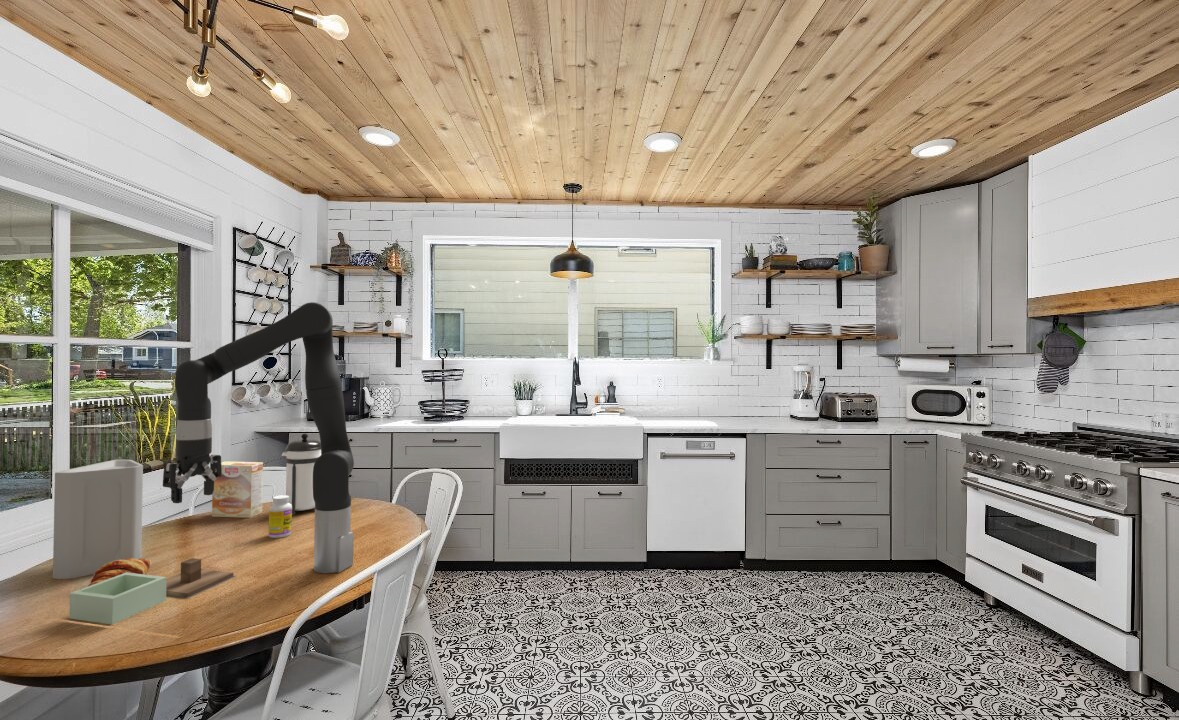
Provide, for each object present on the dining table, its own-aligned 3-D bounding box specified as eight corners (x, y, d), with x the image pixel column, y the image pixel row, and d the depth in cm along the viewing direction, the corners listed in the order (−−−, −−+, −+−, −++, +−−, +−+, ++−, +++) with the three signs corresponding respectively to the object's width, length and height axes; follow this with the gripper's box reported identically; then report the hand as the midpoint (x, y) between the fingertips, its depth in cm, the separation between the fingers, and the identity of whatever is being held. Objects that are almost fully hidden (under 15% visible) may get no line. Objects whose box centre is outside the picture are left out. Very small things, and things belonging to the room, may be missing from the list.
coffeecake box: (210, 517, 196) (211, 464, 196) (224, 511, 203) (225, 460, 203) (250, 518, 196) (251, 465, 196) (262, 512, 203) (263, 461, 203)
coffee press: (310, 517, 197) (311, 436, 197) (271, 514, 200) (273, 435, 200) (339, 505, 214) (340, 431, 215) (303, 502, 217) (304, 429, 217)
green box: (166, 602, 128) (166, 577, 128) (112, 626, 116) (112, 598, 116) (126, 596, 130) (126, 572, 130) (69, 619, 119) (69, 593, 119)
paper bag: (107, 578, 141) (109, 473, 141) (50, 578, 140) (52, 472, 140) (164, 552, 160) (165, 460, 160) (113, 552, 159) (115, 459, 160)
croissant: (136, 581, 148) (122, 556, 147) (172, 562, 149) (158, 538, 149) (76, 615, 127) (59, 586, 127) (118, 593, 128) (102, 565, 128)
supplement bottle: (284, 538, 174) (284, 499, 174) (264, 538, 174) (264, 499, 174) (295, 532, 180) (296, 494, 180) (276, 531, 181) (277, 494, 181)
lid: (233, 576, 142) (233, 554, 142) (187, 597, 130) (188, 572, 130) (193, 571, 145) (193, 549, 145) (144, 591, 132) (145, 567, 132)
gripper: (179, 441, 131) (178, 507, 131) (230, 433, 145) (229, 493, 145) (155, 439, 132) (154, 504, 132) (207, 432, 146) (206, 491, 146)
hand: (193, 498), depth 138 cm, fingers open, 8 cm apart
